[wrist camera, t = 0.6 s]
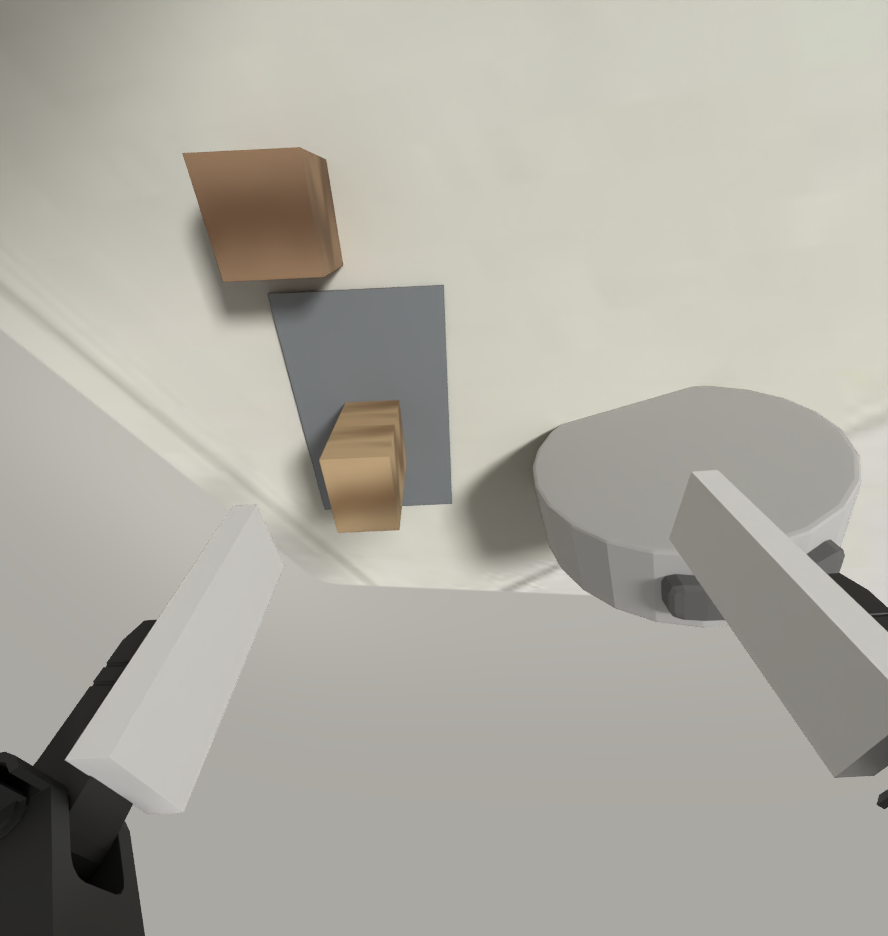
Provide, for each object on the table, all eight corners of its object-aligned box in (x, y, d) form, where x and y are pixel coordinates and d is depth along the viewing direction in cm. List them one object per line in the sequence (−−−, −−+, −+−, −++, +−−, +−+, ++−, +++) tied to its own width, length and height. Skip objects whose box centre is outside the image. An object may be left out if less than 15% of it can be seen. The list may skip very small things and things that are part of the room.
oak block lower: (345, 402, 37) (334, 427, 32) (399, 399, 36) (394, 424, 32) (357, 465, 40) (348, 495, 36) (406, 463, 40) (403, 492, 36)
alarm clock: (531, 493, 43) (591, 669, 27) (516, 437, 39) (577, 602, 23) (737, 439, 40) (950, 600, 24) (743, 371, 36) (1005, 508, 20)
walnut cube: (232, 164, 27) (182, 153, 22) (326, 159, 27) (299, 147, 22) (260, 269, 31) (223, 281, 25) (343, 265, 31) (324, 276, 25)
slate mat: (269, 293, 32) (267, 294, 31) (443, 285, 32) (443, 285, 31) (325, 507, 44) (324, 509, 43) (451, 501, 44) (452, 503, 43)
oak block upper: (334, 427, 32) (319, 459, 28) (394, 424, 32) (389, 456, 28) (348, 495, 36) (337, 532, 32) (403, 492, 36) (399, 529, 32)
